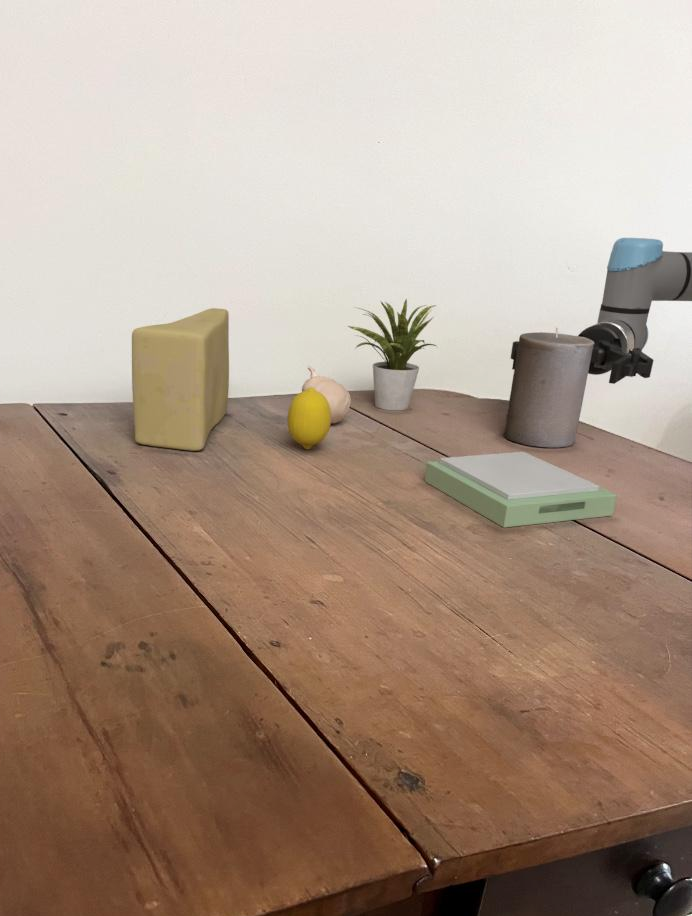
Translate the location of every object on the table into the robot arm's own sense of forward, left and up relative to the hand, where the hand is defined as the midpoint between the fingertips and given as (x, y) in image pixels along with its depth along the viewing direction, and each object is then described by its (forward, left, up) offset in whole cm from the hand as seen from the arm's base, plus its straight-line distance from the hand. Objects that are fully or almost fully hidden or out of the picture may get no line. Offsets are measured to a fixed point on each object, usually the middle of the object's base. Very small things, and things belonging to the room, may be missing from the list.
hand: (563, 366), depth 128 cm
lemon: (-1, +39, -9) cm, 40 cm away
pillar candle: (-4, +5, -9) cm, 11 cm away
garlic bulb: (+11, +31, -9) cm, 34 cm away
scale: (-25, +24, -9) cm, 35 cm away
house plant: (+20, +15, -9) cm, 26 cm away
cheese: (+12, +50, -9) cm, 52 cm away
